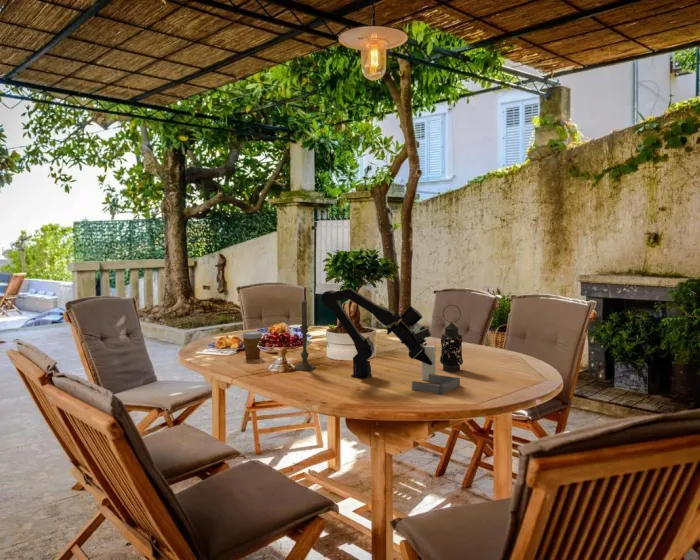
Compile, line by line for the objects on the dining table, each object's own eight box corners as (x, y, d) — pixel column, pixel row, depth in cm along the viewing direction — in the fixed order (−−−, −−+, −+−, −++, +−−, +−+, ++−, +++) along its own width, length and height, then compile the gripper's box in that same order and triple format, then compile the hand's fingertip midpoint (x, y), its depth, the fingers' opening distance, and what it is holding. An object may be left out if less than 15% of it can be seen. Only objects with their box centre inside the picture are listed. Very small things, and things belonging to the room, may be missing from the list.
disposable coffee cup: (239, 357, 283) (238, 332, 282) (257, 354, 289) (256, 330, 288) (248, 360, 276) (247, 335, 275) (266, 358, 281) (266, 332, 280)
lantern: (463, 368, 256) (464, 303, 254) (462, 373, 248) (462, 306, 246) (441, 367, 259) (441, 303, 257) (438, 371, 250) (438, 305, 248)
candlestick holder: (302, 365, 265) (301, 298, 263) (319, 367, 261) (318, 299, 258) (290, 369, 258) (289, 300, 255) (307, 371, 253) (306, 301, 251)
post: (422, 380, 236) (422, 347, 235) (422, 377, 241) (423, 345, 240) (434, 380, 235) (434, 348, 234) (435, 377, 240) (435, 345, 239)
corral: (412, 389, 222) (412, 381, 222) (430, 381, 234) (430, 373, 234) (442, 394, 215) (442, 386, 214) (459, 385, 227) (459, 378, 227)
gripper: (417, 324, 228) (446, 353, 227) (420, 317, 246) (447, 344, 245) (396, 344, 230) (425, 373, 229) (401, 336, 249) (428, 363, 247)
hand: (432, 362), depth 238 cm, fingers open, 7 cm apart
